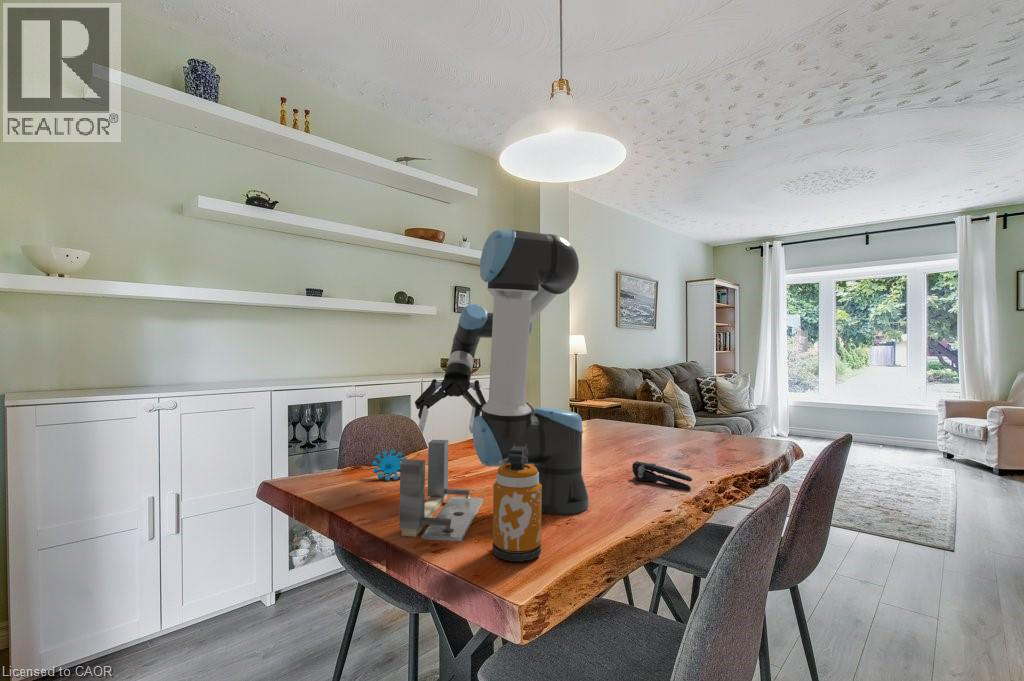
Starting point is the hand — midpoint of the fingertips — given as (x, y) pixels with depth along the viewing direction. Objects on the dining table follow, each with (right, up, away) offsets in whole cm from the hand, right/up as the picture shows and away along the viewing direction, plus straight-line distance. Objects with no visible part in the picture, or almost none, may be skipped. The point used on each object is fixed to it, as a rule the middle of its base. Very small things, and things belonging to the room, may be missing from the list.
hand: (445, 429), depth 128 cm
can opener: (+60, -18, +9) cm, 63 cm away
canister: (+19, -16, -38) cm, 45 cm away
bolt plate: (+5, -16, -21) cm, 27 cm away
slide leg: (+2, -15, -9) cm, 18 cm away
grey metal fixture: (+1, -16, -19) cm, 25 cm away
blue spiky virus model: (-17, -16, +11) cm, 26 cm away
